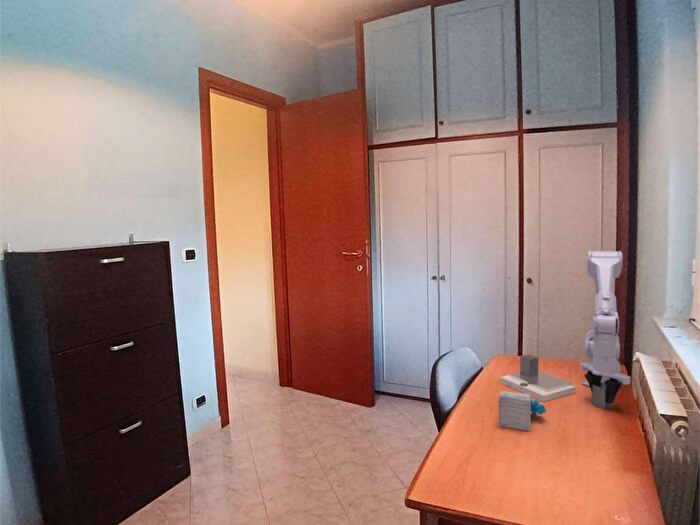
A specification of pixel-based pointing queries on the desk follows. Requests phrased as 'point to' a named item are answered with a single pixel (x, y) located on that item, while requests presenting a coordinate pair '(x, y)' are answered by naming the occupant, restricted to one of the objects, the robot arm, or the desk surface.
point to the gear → (537, 407)
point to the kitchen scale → (539, 385)
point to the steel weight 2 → (600, 396)
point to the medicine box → (514, 410)
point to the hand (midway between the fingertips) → (602, 400)
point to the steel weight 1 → (529, 365)
